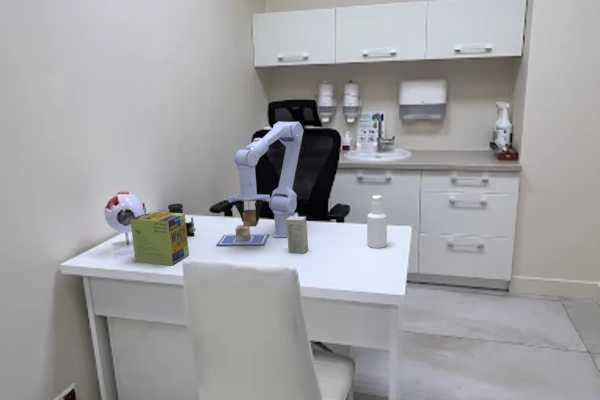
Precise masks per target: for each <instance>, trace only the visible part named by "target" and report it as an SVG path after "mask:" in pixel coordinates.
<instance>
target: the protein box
mask: <svg viewBox="0 0 600 400" xmlns="http://www.w3.org/2000/svg"><path fill="white" fill-rule="evenodd" d="M129 221H130V227H131V228H130V230H131V236H132V245H133V253H134V261H135V262H136V263H143V264H144V263H145V264H146V263H147V264H153V265H154V264H155V265H165V266H174V265H175V264H178V263H180V262H181V261H182V260H184V259H185V258H187V257H188V256H190V252H189V251H190V250H189V240H188V237H187V230H186V223H187V221H186V213H184V212H183V213H169V211H168V212H164V211H163V212H162V211H161V212H159V211H147V212H145V213H142V214H140V215H138V216H135V217H132V218H130V220H129Z"/></svg>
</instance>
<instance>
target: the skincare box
mask: <svg viewBox="0 0 600 400" xmlns="http://www.w3.org/2000/svg"><path fill="white" fill-rule="evenodd" d="M286 226H287V237H286V238H287V247H288V248H287V249H288V253H295V254H306V253H307V251H308V250H309V241H308V226H307V216H298V217H297V216H290V217H289V218H287V219H286Z"/></svg>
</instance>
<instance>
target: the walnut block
mask: <svg viewBox="0 0 600 400" xmlns="http://www.w3.org/2000/svg"><path fill="white" fill-rule="evenodd" d="M242 223H243V224H242V225H244V227H250V228H251V227H253V228H254V227H257V225H258V224H259V221H257V222H256V209H244V212H243V222H242Z"/></svg>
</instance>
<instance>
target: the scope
mask: <svg viewBox="0 0 600 400" xmlns="http://www.w3.org/2000/svg"><path fill="white" fill-rule="evenodd" d="M183 207H184V206H183V204H182V203H172V204H169V205H168V206H167V208H168V213H184V210H183V209H184V208H183ZM186 230H187V238H189V237H193V236H195V232H196V230H197V229H196V227H195V222H194V217H193V216H192V217H190V221H189V222H186Z"/></svg>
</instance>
